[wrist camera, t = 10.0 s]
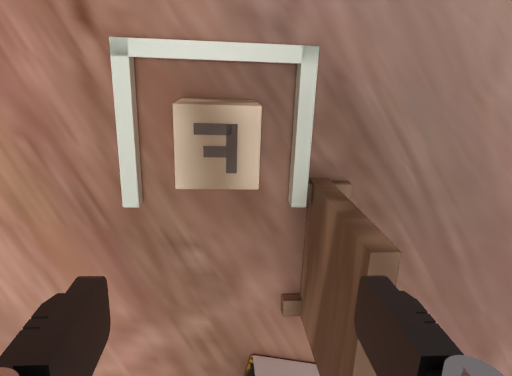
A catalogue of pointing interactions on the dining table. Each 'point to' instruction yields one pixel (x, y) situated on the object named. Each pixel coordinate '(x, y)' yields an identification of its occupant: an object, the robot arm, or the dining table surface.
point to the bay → (217, 51)
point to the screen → (337, 276)
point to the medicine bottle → (279, 367)
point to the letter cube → (216, 143)
